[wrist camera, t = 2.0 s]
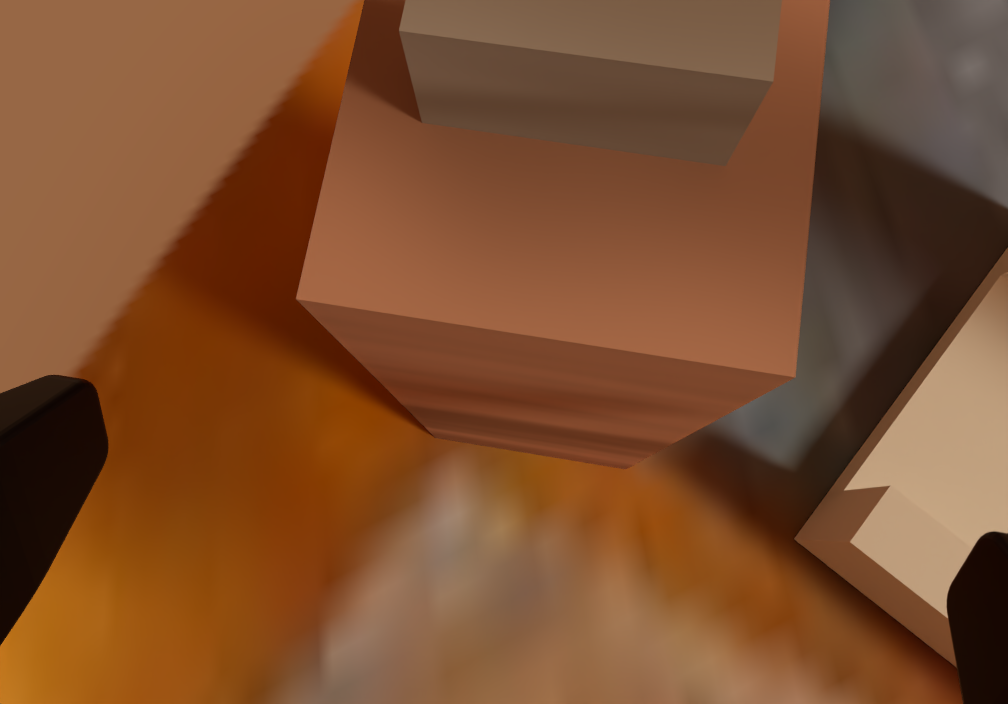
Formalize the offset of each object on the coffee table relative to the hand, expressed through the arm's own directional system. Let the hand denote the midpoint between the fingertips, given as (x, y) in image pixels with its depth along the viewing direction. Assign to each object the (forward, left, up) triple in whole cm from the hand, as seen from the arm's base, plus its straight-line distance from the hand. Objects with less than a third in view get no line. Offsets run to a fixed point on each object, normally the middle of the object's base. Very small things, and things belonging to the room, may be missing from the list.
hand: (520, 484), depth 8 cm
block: (+4, +2, -12) cm, 13 cm away
